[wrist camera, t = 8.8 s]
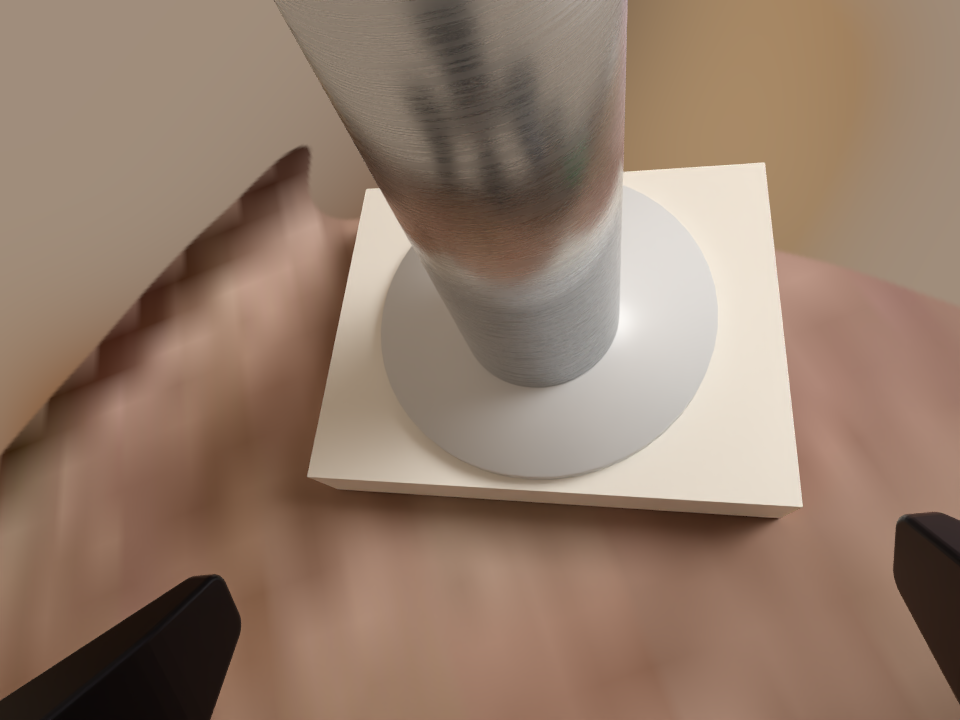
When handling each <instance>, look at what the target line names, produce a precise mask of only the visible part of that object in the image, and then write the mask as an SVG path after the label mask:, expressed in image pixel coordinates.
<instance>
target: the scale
mask: <svg viewBox="0 0 960 720" xmlns="http://www.w3.org/2000/svg"><path fill="white" fill-rule="evenodd" d="M307 477H309V478H311V479H314V480H316V481H319V482H321V483H323V484H326V485H328V486H331V487H333V488H336V489H341V490H356V491H371V492H387V493H402V494H417V495H432V496H448V497H463V498H478V499H493V500H509V501H524V502H539V503H554V504H570V505H585V506H600V507H615V508H631V509H646V510H661V511H676V512H692V513H707V514H722V515H737V516H753V517H768V518H782V517H784V516H786V515H788V514H790V513H792V512H794V511H796V510H798V509H800V508H802V507H803V504H802V495H801V486H800V477H799V468H798V459H797V450H796V441H795V432H794V423H793V413H792V404H791V395H790V386H789V377H788V368H787V359H786V350H785V341H784V332H783V323H782V314H781V305H780V296H779V287H778V278H777V269H776V260H775V251H774V241H773V232H772V223H771V214H770V206H769V196H768V187H767V178H766V169H765V163H750V164H736V165H721V166H707V167H690V168H676V169H660V170H646V171H630V172H623V196H622V235H621V274H620V312H619V324H618V329H617V332H616V336H615V338H614V340H613V343H612V345H611V346H610V348H609V350H608V351H607V353H606V354H605V355H604V357H603V358H602V359H601V360H600V361H599V362H598V363H597V364H596V365H595V366H594V367H593V368H592V369H590V370H589V371H588V372H586V373H585V374H583V375H582V376H580V377H578V378H576V379H574V380H572V381H569V382H567V383H564V384H560V385H556V386H552V387H544V388H530V387H522V386H517V385H514V384H510V383H508V382H505V381H503V380H501V379H499V378H497V377H495V376H494V375H492V374H491V373H490V372H488V371H487V370H486V369H485V368H484V367H483V366H482V365H481V364H480V363H479V362H478V361H477V359H476V358H475V357H474V355H473V354H472V352H471V350H470V348H469V347H468V345H467V343H466V341H465V339H464V338H463V336H462V334H461V332H460V331H459V329H458V327H457V325H456V323H455V322H454V320H453V318H452V316H451V315H450V313H449V311H448V309H447V307H446V306H445V304H444V302H443V300H442V299H441V297H440V295H439V293H438V291H437V290H436V288H435V286H434V284H433V283H432V281H431V279H430V277H429V275H428V274H427V272H426V270H425V268H424V267H423V265H422V263H421V261H420V259H419V258H418V256H417V254H416V252H415V251H414V249H413V247H412V245H411V243H410V242H409V240H408V238H407V236H406V235H405V233H404V231H403V229H402V227H401V226H400V224H399V222H398V220H397V219H396V217H395V215H394V213H393V211H392V210H391V208H390V206H389V204H388V203H387V201H386V199H385V197H384V195H383V194H382V192H381V190H380V188H376V189H366V193H365V198H364V203H363V208H362V213H361V217H360V222H359V227H358V232H357V237H356V242H355V246H354V251H353V256H352V261H351V266H350V271H349V276H348V280H347V285H346V290H345V295H344V300H343V305H342V309H341V314H340V319H339V324H338V329H337V334H336V339H335V343H334V348H333V353H332V358H331V363H330V368H329V373H328V377H327V382H326V387H325V392H324V397H323V402H322V406H321V411H320V416H319V421H318V426H317V431H316V436H315V440H314V445H313V450H312V455H311V460H310V465H309V469H308V474H307Z"/></svg>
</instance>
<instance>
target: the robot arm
mask: <svg viewBox="0 0 960 720" xmlns="http://www.w3.org/2000/svg"><path fill="white" fill-rule="evenodd" d="M893 573H894V578H895V582H896V585H897V588H898V590H899V592H900V594H901V596H902V598H903V600H904V602H905V603H906V605H907V607H908V609H909V611H910V613H911V615H912V617H913V618H914V620H915V622H916V624H917V626H918V628H919V630H920V632H921V633H922V635H923V637H924V639H925V641H926V643H927V645H928V647H929V648H930V650H931V652H932V654H933V656H934V658H935V660H936V661H937V663H938V665H939V667H940V669H941V671H942V673H943V675H944V676H945V678H946V680H947V682H948V684H949V686H950V688H951V690H952V691H953V693H954V695H955V697H956V699H957V701H958V702H959V704H960V520H957V519H955V518H953V517H950V516H948V515H946V514H943V513H939V512H927V513H916V514H906V515H903V516H901V517H900V518H899V519H898V521H897V524H896V532H895V548H894V563H893ZM240 631H241V618H240V614H239V612H238V610H237V607H236V605H235V603H234V601H233V598H232V596H231V594H230V592H229V589H228V587H227V585H226V582H225V581H224V579H223V578H222V577H220V576H219V575H215V574H212V575H200V576H193V577H190V578H188V579H186V580H185V581H183V582H182V583H180V584H179V585H177V586H176V587H174V588H172V589H171V590H169V591H168V592H166V593H165V594H163V595H162V596H160V597H159V598H157V599H156V600H154V601H153V602H151V603H149V604H148V605H146V606H145V607H143V608H142V609H140V610H139V611H137V612H136V613H134V614H133V615H131V616H129V617H128V618H126V619H125V620H123V621H122V622H120V623H119V624H117V625H116V626H114V627H113V628H111V629H110V630H108V631H106V632H105V633H103V634H102V635H100V636H99V637H97V638H96V639H94V640H93V641H91V642H90V643H88V644H86V645H85V646H83V647H82V648H80V649H79V650H77V651H76V652H74V653H73V654H71V655H70V656H68V657H67V658H65V659H63V660H62V661H60V662H59V663H57V664H56V665H54V666H53V667H51V668H50V669H48V670H47V671H45V672H43V673H42V674H40V675H39V676H37V677H36V678H34V679H33V680H31V681H30V682H28V683H27V684H25V685H24V686H22V687H20V688H19V689H17V690H16V691H14V692H13V693H11V694H10V695H8V696H7V697H5V698H4V699H2V700H1V701H0V720H210V719H211V716H212V713H213V710H214V708H215V705H216V702H217V699H218V696H219V693H220V690H221V687H222V685H223V682H224V679H225V676H226V673H227V670H228V667H229V664H230V662H231V659H232V656H233V653H234V650H235V647H236V644H237V641H238V638H239V635H240Z"/></svg>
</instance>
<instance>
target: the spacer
mask: <svg viewBox="0 0 960 720" xmlns="http://www.w3.org/2000/svg"><path fill="white" fill-rule="evenodd" d="M627 1H628V0H274V2H275V3H276V5H277V7H278V9H279V11H280V12H281V14H282V16H283V18H284V19H285V21H286V23H287V25H288V27H289V28H290V30H291V32H292V34H293V35H294V37H295V39H296V41H297V43H298V44H299V46H300V48H301V50H302V51H303V53H304V55H305V57H306V59H307V60H308V62H309V64H310V66H311V67H312V69H313V71H314V73H315V75H316V76H317V78H318V80H319V82H320V83H321V85H322V87H323V89H324V91H325V92H326V94H327V96H328V98H329V99H330V101H331V103H332V105H333V106H334V108H335V110H336V112H337V114H338V115H339V117H340V119H341V121H342V123H343V124H344V126H345V128H346V130H347V131H348V133H349V135H350V137H351V138H352V140H353V142H354V144H355V146H356V147H357V149H358V151H359V153H360V155H361V156H362V158H363V160H364V162H365V163H366V165H367V167H368V169H369V171H370V172H371V174H372V176H373V178H374V179H375V181H376V183H377V185H378V186H379V188H380V190H381V192H382V194H383V195H384V197H385V199H386V201H387V203H388V204H389V206H390V208H391V210H392V211H393V213H394V215H395V217H396V219H397V220H398V222H399V224H400V226H401V227H402V229H403V231H404V233H405V235H406V236H407V238H408V240H409V242H410V243H411V245H412V247H413V249H414V251H415V252H416V254H417V256H418V258H419V259H420V261H421V263H422V265H423V267H424V268H425V270H426V272H427V274H428V275H429V277H430V279H431V281H432V283H433V284H434V286H435V288H436V290H437V291H438V293H439V295H440V297H441V299H442V300H443V302H444V304H445V306H446V307H447V309H448V311H449V313H450V315H451V316H452V318H453V320H454V322H455V323H456V325H457V327H458V329H459V331H460V332H461V334H462V336H463V338H464V339H465V341H466V343H467V345H468V347H469V348H470V350H471V352H472V354H473V355H474V357H475V358H476V359H477V361H478V362H479V363H480V364H481V365H482V366H483V367H484V368H485V369H486V370H487V371H488V372H490V373H491V374H492V375H494V376H495V377H497V378H499V379H501V380H503V381H505V382H508V383H510V384H514V385H517V386H522V387H530V388H544V387H552V386H556V385H560V384H564V383H567V382H569V381H572V380H574V379H576V378H578V377H580V376H582V375H583V374H585V373H586V372H588V371H589V370H590V369H592V368H593V367H594V366H595V365H596V364H597V363H598V362H599V361H600V360H601V359H602V358H603V357H604V355H605V354H606V353H607V351H608V350H609V348H610V346H611V345H612V343H613V340H614V338H615V336H616V332H617V329H618V324H619V312H620V274H621V235H622V196H623V157H624V156H623V155H624V118H625V80H626V78H625V77H626V41H627V39H626V38H627Z"/></svg>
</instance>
